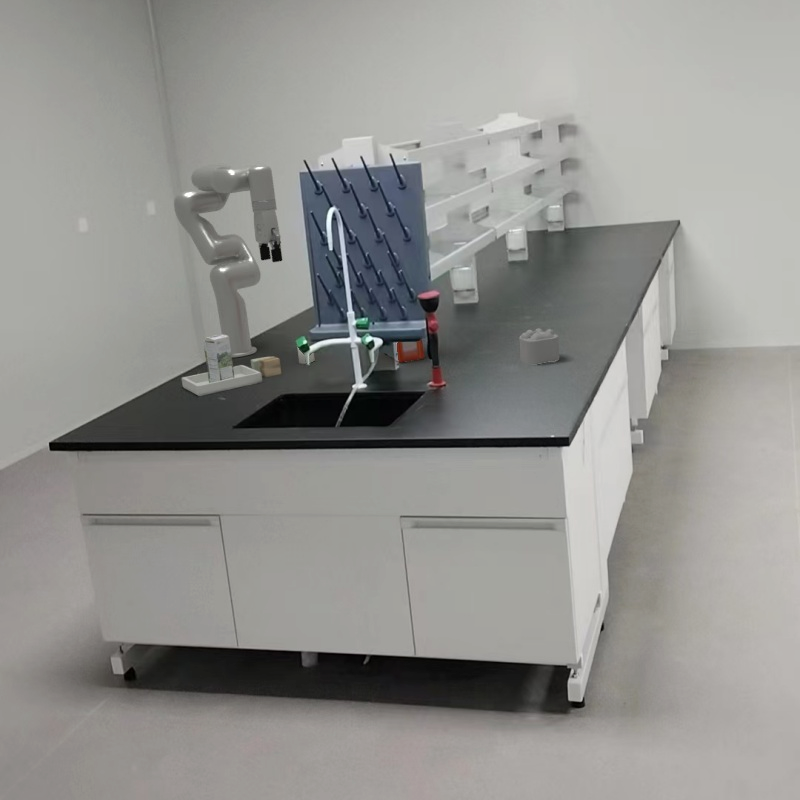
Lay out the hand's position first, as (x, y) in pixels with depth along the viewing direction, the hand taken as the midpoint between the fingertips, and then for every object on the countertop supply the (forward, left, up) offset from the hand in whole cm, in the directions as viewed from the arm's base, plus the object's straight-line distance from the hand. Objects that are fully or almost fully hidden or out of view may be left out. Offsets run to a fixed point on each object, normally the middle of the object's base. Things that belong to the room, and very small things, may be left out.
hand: (271, 260), depth 328 cm
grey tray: (+12, -26, -33) cm, 44 cm away
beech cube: (+12, -10, -33) cm, 37 cm away
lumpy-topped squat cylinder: (+66, +53, -34) cm, 91 cm away
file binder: (+27, +29, -34) cm, 52 cm away
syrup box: (+12, -26, -33) cm, 44 cm away
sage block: (+5, -10, -34) cm, 35 cm away
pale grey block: (+6, +5, -33) cm, 34 cm away
